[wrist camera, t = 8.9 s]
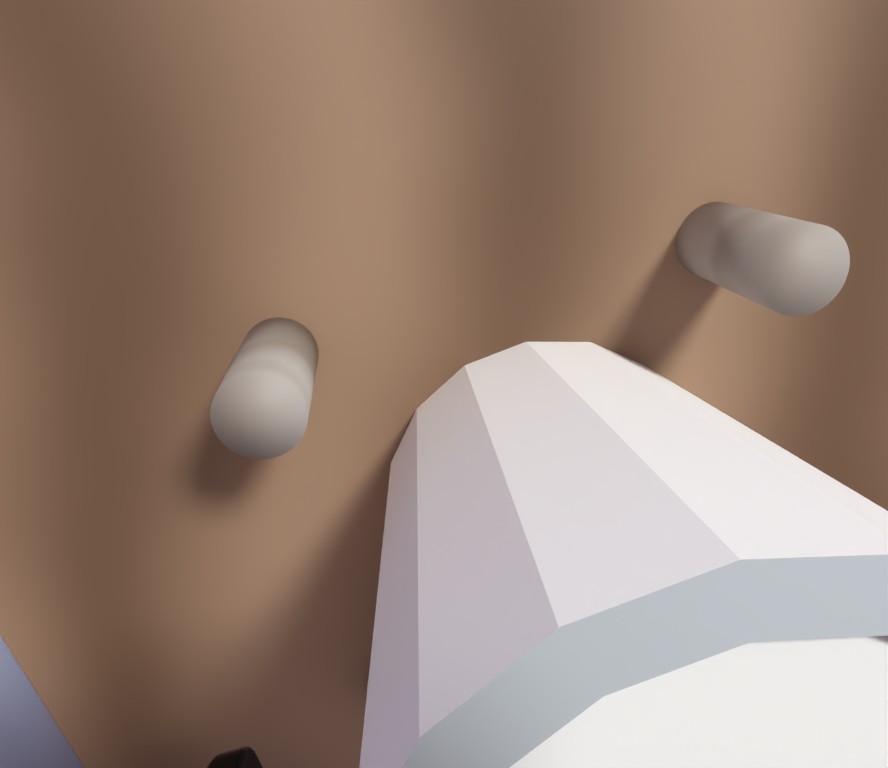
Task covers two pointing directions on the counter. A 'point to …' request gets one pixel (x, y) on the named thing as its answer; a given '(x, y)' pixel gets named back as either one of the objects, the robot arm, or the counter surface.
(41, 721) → the counter surface
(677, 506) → the shot glass
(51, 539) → the pin plate
